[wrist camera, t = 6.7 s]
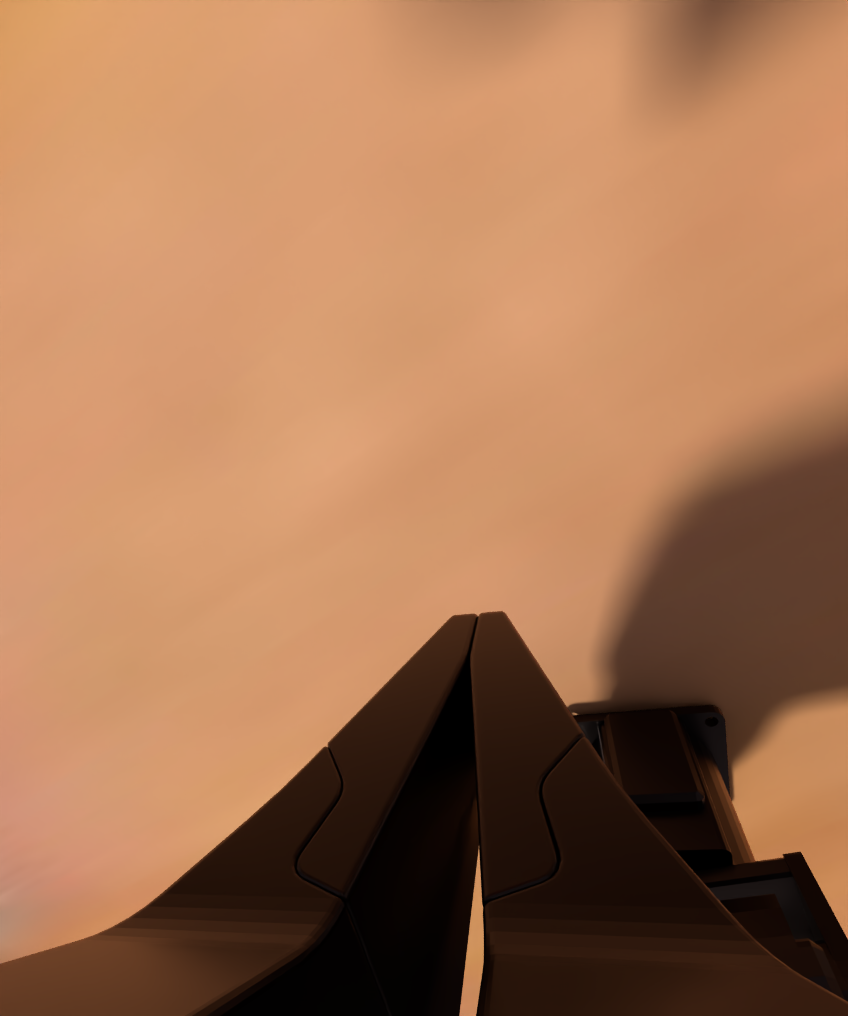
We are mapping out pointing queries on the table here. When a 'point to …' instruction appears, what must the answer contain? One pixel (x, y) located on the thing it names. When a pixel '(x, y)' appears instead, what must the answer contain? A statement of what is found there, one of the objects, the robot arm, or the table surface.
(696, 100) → the table surface
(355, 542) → the table surface
